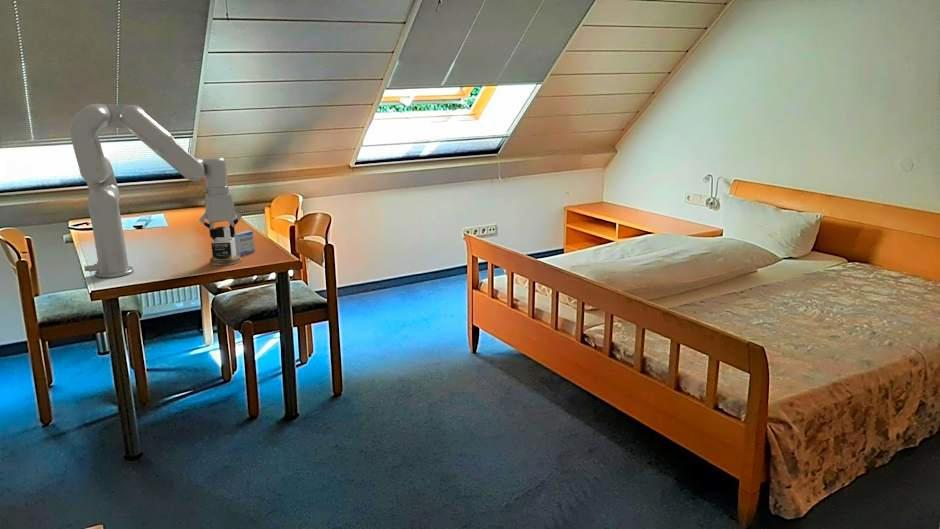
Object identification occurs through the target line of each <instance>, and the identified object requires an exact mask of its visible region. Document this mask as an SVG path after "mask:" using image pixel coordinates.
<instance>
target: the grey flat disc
mask: <svg viewBox="0 0 940 529" xmlns="http://www.w3.org/2000/svg"><path fill="white" fill-rule="evenodd" d="M242 259H243V258H242V256H240V255H236V256H235V257H234V258H233V259H232V260H213V256H212V257H211V258H210V261H209V265H211V266H215V265H217V266H216V267H218V266H220V267H221V265H225V266H231V265H232V264H233V265H235V264H236V263H237V264H239V263H241V262H242V261H243V260H242ZM241 260H242V261H241ZM240 261H241V262H240ZM238 262H239V263H238Z"/></svg>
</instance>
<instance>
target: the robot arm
mask: <svg viewBox="0 0 940 529" xmlns="http://www.w3.org/2000/svg"><path fill="white" fill-rule="evenodd" d="M102 129H126V130H127V131H128V132H130V133H131V134H132V135H134V137H136V138H137V139H138V140H139V141H141V142H142V143H143V144H144V145H146V146H147V147H148V148H149V149H150V150H151V151H153V152H154V153H155V154H156V155H157V156H159V157H160V158H161V159H162V160H164V161H165V162H166V163H167V164H168V165H169V166H170V167H172V168H173V169H174V170H175V171H177V172H178V173H179V174H180V175H181V176H182V177H184V178H185V180H186V179H187V180H188V181H192V182H196V181H200V180H201V179H203V177H205V183H206V186H205V188H203V189H202V193H203V194H206V195H205V198H204V200H205V202H204V203H205V204H204V205H205V206H204V207H205V208H204V209H205V212H204V213H203V215H202V216H201V217H200V218H199V220H198V221H199V222H200V223H201V224H202V225H203V226H205V227H206V228H208V229H209V237H210V238H211V239H212V241H214V240H215V230H214V229H215V228H214V227H215V226H214V225H215V223H221V222H228V224H229V226H228V227H229V228H230V231H231V237H234V235H235V233H236V232H235V227H236V225H237V224H238V223H239V221H240V220H241V219H242V218H243V216H242V215H241V213H239V212H238V211H236V210H235V202H234V199H233V196H232V193H231V192H230V193H229V191H230V190H229V182H228V173H227V163H226V160H225V158H223V157H219V156H218V157H217V156H216V157H215V156H214V157H213V156H212V157H207V158H204V157H203V158H201V157H194V156H193V155H191V154H190V153H189V152H188V151H187V150H185V148H184V147H183V146H181V145H180V144H179V142H177V140H176V139H175V137H173V135H172V134H171V133H170V132H169V131H168V130H167V129H165V127H163V126H161V124H159V123H158V122H157V121H155V119H153V118H152V117H151V116H150V115H148V113H146V111H145V110H144V109H143V108H142V107H141V106H139V105H136V104H114V103H111V104H110V103H92V104H88V105H87V106H84V107H83V108H81V109H80V110H79V111H78V112H77V113H76V114H75V115H74V116H73V118H72V119H71V122H70V126H69V135H70V136H69V137H70V139H71V144H72V148H73V151H74V155H75V159H76V162H77V165H78V170H79V173H80V176H81V178H82V179H83V180H84V181H85V182H86V185H87V188H88V191H89V195H88V196H87V208H88V209H87V210H88V212H89V217H90V222H91V227H92V233H93V238H94V244H95V245H94V246H95V250H96V256H97V258H96V259H97V261H96V263H94V264H92V265H84V266H83V267H84V272H94V274H95V276H96V277H98V278H101V277H102V278H103V279H104V278H109V279H110V278H118V277H123V276H127V275H131V274H132V273H133V272H134V271H135V270H134V267H133V266H132V265H129V261H128V254H127V248H126V241H125V234H124V228H123V221H122V218H121V211H120V204H119V203H120V201H121V192H120V190H119V187H118V186H119V185H118V183H117V179H116V176H115V172H114V169H113V166H112V164H111V161H110V160H109V159H108V158H107V157H106V156H104V152H103V148H102V143H101V141H100V138H99V132H100V130H102ZM207 221H208V222H207Z"/></svg>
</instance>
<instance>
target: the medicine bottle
mask: <svg viewBox="0 0 940 529" xmlns="http://www.w3.org/2000/svg"><path fill="white" fill-rule="evenodd" d="M213 229H214V230H215V240H212V241H211V243H210V244H211V252H212V257H213V260H232V259H233V258H234V257H235V256H236V245H235V238H231V231H230V228H229V226H223V225H222V226H216V227H215V228H213Z"/></svg>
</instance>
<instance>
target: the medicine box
mask: <svg viewBox="0 0 940 529" xmlns="http://www.w3.org/2000/svg"><path fill="white" fill-rule="evenodd" d="M254 237H255V236H254V232H253V230H243V231H240V232H239V231H238V232H235V235H234V237H231V238H235V245H236V255H240V257H242V256H241V255H243V256H245V255H244V254H246V255H249V254H252V253H251V252H253V253H255V252H256V250H255V240H254V239H255V238H254ZM254 251H255V252H254ZM248 253H249V254H248Z"/></svg>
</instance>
